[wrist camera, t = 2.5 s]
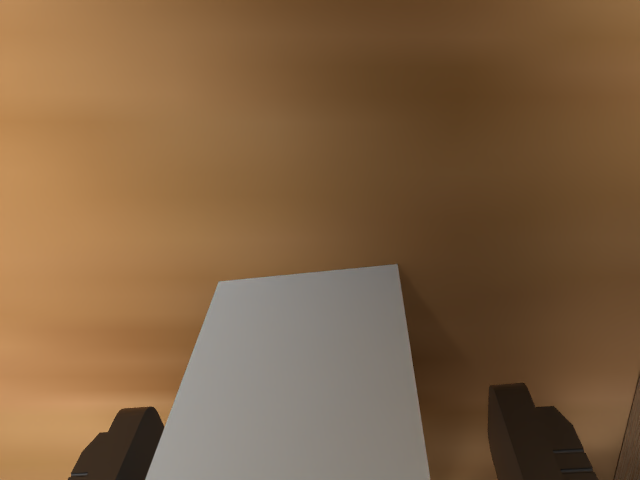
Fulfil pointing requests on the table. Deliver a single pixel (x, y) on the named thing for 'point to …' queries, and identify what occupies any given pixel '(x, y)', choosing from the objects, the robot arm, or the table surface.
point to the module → (299, 384)
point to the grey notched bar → (631, 445)
